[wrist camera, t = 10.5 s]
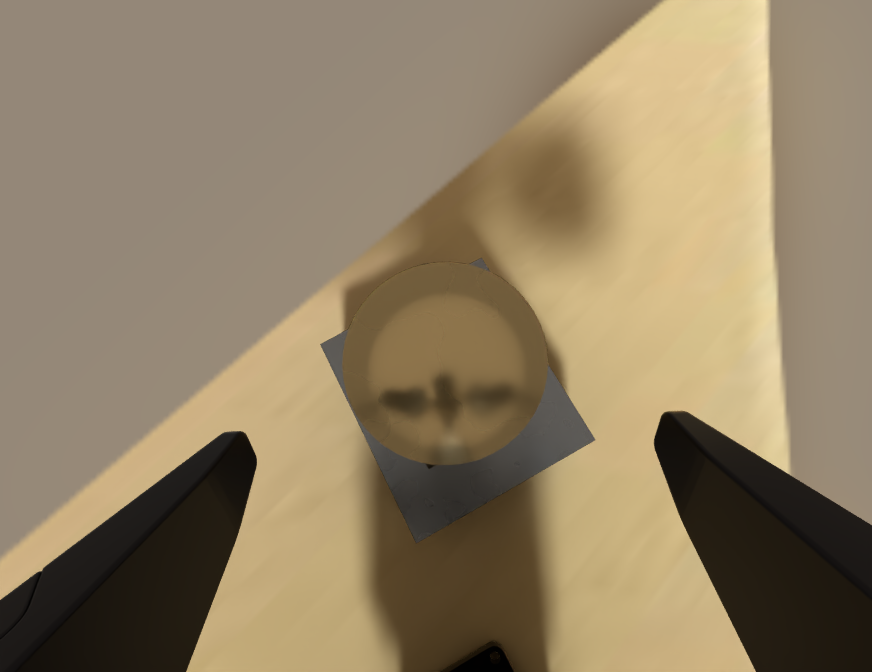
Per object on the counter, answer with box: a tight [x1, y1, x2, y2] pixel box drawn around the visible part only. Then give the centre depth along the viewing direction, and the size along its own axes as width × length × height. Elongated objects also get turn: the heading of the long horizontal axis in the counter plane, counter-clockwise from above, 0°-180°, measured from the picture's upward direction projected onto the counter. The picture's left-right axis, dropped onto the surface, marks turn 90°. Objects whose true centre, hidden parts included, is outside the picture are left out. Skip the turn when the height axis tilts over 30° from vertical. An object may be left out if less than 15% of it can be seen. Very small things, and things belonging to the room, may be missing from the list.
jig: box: [320, 258, 595, 543], centre depth 20 cm, size 9×10×4 cm
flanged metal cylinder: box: [342, 262, 548, 465], centre depth 16 cm, size 5×5×13 cm
